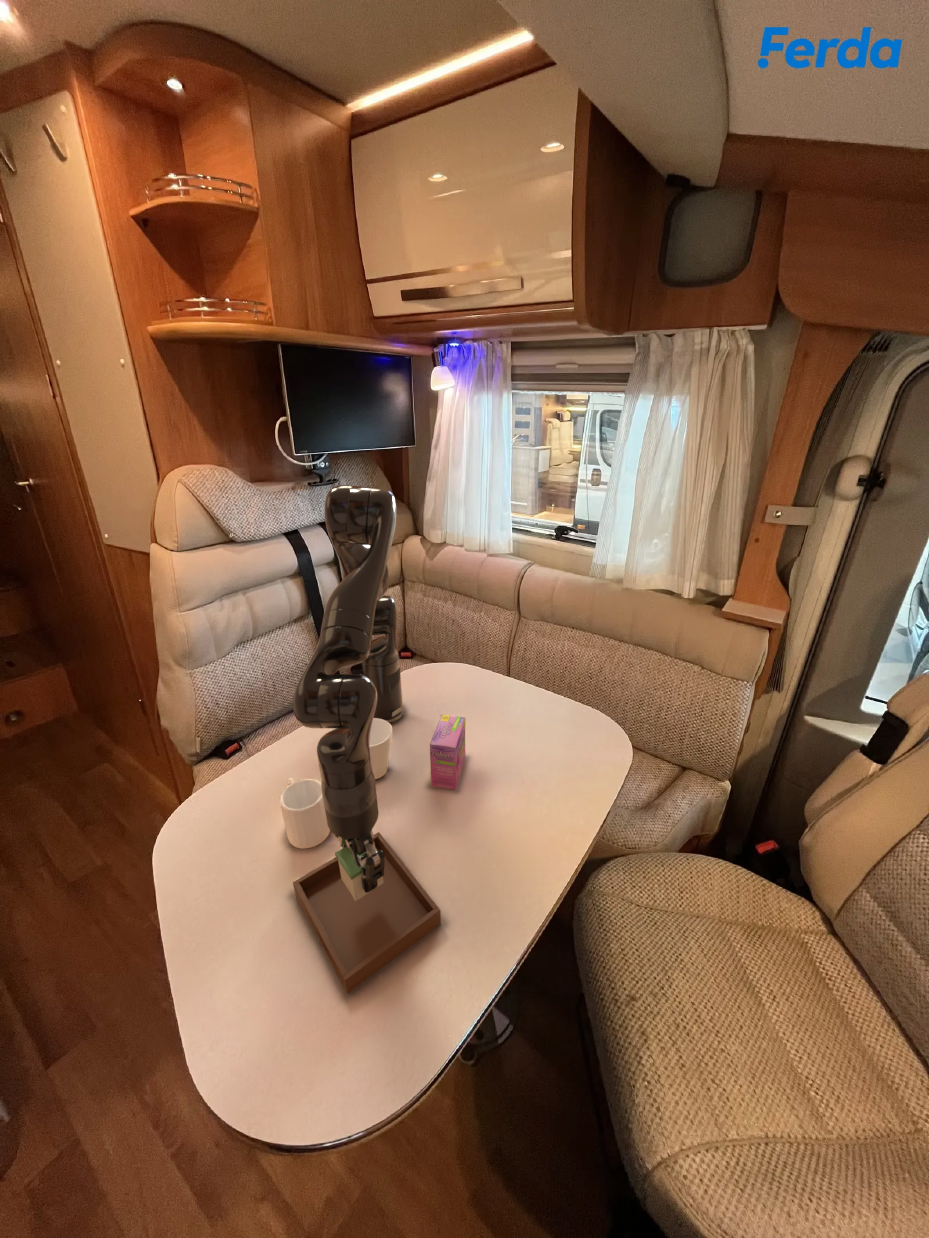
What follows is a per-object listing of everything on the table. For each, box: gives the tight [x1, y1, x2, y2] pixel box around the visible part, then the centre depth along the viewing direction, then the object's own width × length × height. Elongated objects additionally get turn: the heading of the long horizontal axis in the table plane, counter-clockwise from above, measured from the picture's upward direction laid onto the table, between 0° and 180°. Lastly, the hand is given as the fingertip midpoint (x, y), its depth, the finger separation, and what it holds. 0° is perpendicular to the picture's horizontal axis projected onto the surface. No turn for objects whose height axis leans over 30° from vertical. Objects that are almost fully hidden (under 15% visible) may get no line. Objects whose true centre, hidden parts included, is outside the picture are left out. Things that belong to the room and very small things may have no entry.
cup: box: [369, 718, 393, 780], centre depth 110 cm, size 10×10×11 cm
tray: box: [292, 831, 442, 995], centre depth 82 cm, size 20×17×3 cm
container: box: [334, 846, 384, 901], centre depth 79 cm, size 5×5×6 cm
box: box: [429, 714, 466, 791], centre depth 109 cm, size 10×6×12 cm, turn 168°
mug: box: [279, 777, 331, 849], centre depth 97 cm, size 8×12×10 cm
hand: (361, 874), depth 79 cm, fingers closed on container, 5 cm apart
